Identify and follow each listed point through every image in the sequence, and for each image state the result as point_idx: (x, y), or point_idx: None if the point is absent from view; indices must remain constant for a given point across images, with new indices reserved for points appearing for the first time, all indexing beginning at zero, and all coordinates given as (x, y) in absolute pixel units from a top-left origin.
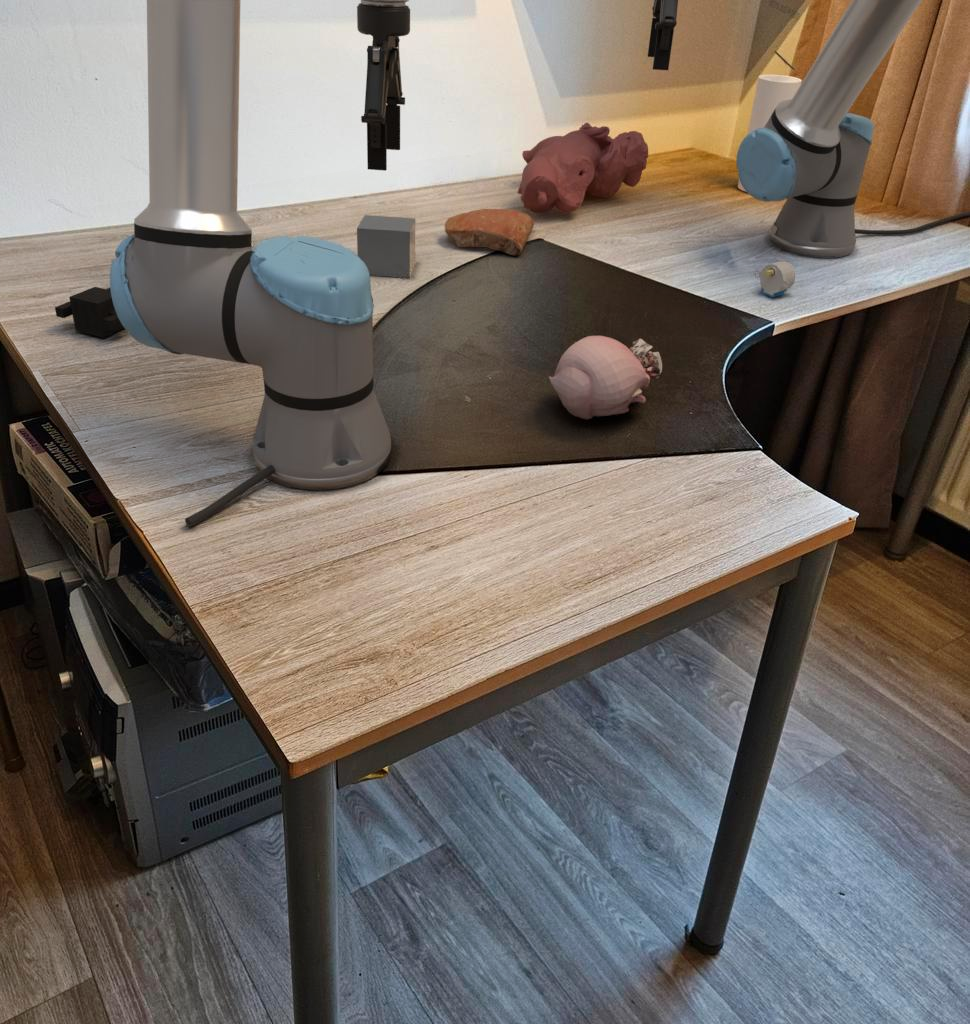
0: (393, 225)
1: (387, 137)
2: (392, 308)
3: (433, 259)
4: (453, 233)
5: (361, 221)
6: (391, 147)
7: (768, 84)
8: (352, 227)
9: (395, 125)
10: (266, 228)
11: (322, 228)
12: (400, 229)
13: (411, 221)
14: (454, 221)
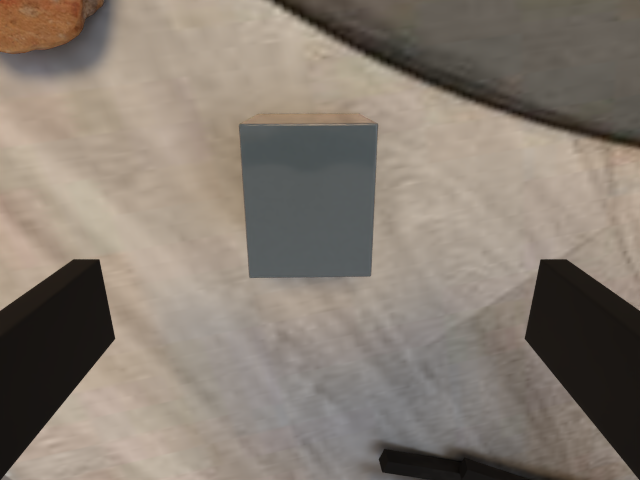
0: (329, 182)
1: (78, 351)
2: (547, 125)
3: (211, 69)
4: (83, 14)
5: (311, 275)
6: (100, 303)
7: None
8: None
9: (20, 354)
10: (131, 446)
11: None
12: (361, 155)
13: (276, 132)
14: (12, 14)
